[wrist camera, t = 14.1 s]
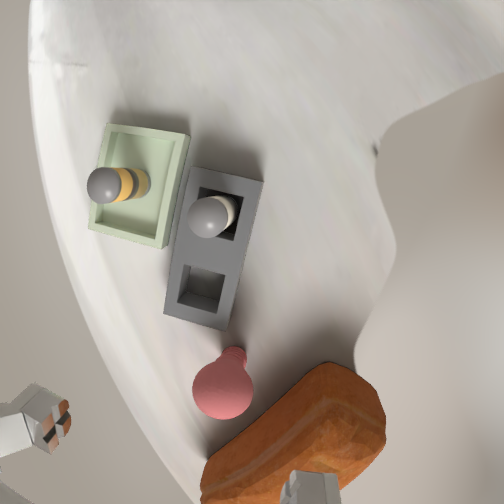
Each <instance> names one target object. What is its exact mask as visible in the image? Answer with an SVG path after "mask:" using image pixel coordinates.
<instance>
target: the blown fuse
mask: <svg viewBox="0 0 504 504" xmlns="http://www.w3.org/2000/svg"><path fill="white" fill-rule="evenodd" d="M150 188H151V178H150V176H149V174H148V173H147V172H146V171H145V170H143V169H135V168H113V167H100V168H97V169H95V170H94V171H93V172H92V173H91V174H90V176H89V178H88V182H87V191H88V194H89V196H90V198H91V199H92V200H93V201H94V202H95V203H97V204H107V203H113V202H120V201H126V200H131V199H137V198H142V197H144V196H145V195H147V193H148V192H149V190H150Z"/></svg>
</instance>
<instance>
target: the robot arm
mask: <svg viewBox="0 0 504 504" xmlns="http://www.w3.org/2000/svg"><path fill="white" fill-rule="evenodd" d="M68 408H69V404H68V401H67V400H65V399H63V398H61V397H60V396H58V395H56V394H54V393H52V392H51V391H49V390H48V389H46V388H44V387H42V386H41V385H39V384H37V383H32V384H30V385H29V386H28V387H27V388H26V389H25V390H24V391H23V392H22V393H21V394H19V395H18V396H17V397H16V398H15V399H14V400H13V401H12V402H11V403H10V404H9V403H7V402H5V403H0V457H3V456H6V455H8V454H11V453H14V452H17V451H19V450H22V449H25V448H27V447H30V446H32V445H35V446H37V447H38V448H40V449H42V450H44V451H45V452H47V453H49V454H51V453H52V452H53V451H54V450H55V448H56V447H57V446H58V445H59V439H58V438H61V437H64V436H65V435H66V434H67V433H68V431H69V428H70V426H71V416H70V414H69V413H68V411H67V409H68ZM1 472H2V469H1V467H0V473H1ZM0 504H34V503H32V502H31V501H29V500H28V499H26V498H25V497H23V496H22V495H20V494H19V493H17V492H15V490H13V489H11V488H10V487H9V486H7V485H6V484H5V483H3V482H2V481H1V480H0ZM280 504H341V498H340V491H339V484H338V478H337V475H336V474H334V473H321V472H312V471H301V470H293V471H292V472H291V474H290V480H289V481H286V482H285V484H284V485H283V488H282V491H281V494H280Z"/></svg>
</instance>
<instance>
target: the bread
mask: <svg viewBox="0 0 504 504" xmlns="http://www.w3.org/2000/svg"><path fill="white" fill-rule="evenodd" d="M385 428H386V415H385V413H384V410H383V408H382V405H381V402H380V400H379V397H378V394H377V391H376V390H375V389H374V388H373V387H372V386H371V384H369V383H368V382H367V381H365V380H364V379H363V378H362V377H360V376H359V375H358V374H356V373H355V372H353V371H351V370H350V369H348V368H346V367H343V366H340V365H337V364H334V363H331V362H328V363H324V364H321V365H318V366H317V367H315V368H314V369H313V370H311V371H310V372H308V373H307V374H306V375H305V376H304V377H303V378H302V379H301V380H300V381H299V382H298V383H297V384H296V385H295V386H294V387H292V388H291V389H290V390H289V391H288V392H287V393H286V394H285V395H284V396H283V397H282V398H281V399H280V400H278V401H277V402H276V403H275V404H274V405H273V406H272V407H271V408H269V409H268V410H267V411H266V412H265V413H264V414H263V415H262V416H260V417H259V418H258V419H257V420H256V421H255V422H253V423H252V424H251V425H250V426H249V427H248V428H246V429H245V430H244V431H243V432H241V433H240V434H239V435H238V436H236V437H235V438H234V439H233V440H231V441H230V442H229V443H227V444H226V445H225V446H224V447H222V448H221V449H220V450H219V451H217V452H216V453H215V454H213V455H212V456H211V457H210V458H209V460H208V461H207V463H206V465H205V467H204V471H203V475H202V478H201V483H200V490H201V492H202V495H201V498H200V501H201V504H280V494H281V491H282V488H283V485H284V484H285V482H286V481H289V480H290V474H291V472H292V471H293V470H301V471H312V472H321V473H334V474H336V475H337V478H338V484H339V490H341V489H342V488H344V487H345V486H346V485H348V484H349V483H350V482H351V481H352V480H354V479H355V478H356V477H357V476H358V475H359V474H361V473H362V472H363V471H364V470H365V469H366V468H367V467H368V466H369V465H370V464H371V463H372V462H373V460H374V459H375V458H376V457H377V456H378V455H379V453H380V452H381V451H382V450H383V448H384V446H385V444H386V435H385Z"/></svg>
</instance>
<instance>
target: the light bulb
mask: <svg viewBox="0 0 504 504" xmlns="http://www.w3.org/2000/svg"><path fill="white" fill-rule="evenodd" d="M246 363H247V356H246V353H245V352H244V351H243V350H242V349H241V348H239V347H235V346H231V347H228V348H226V349H225V350H224V351H223V352H222V354H221V356H220V357H219V358H217V359H216V361H215V362H212V363H210V364H208V365H206V366H205V367H203V368H202V369H201V370H200V371H199V372H198V374H197V375H196V377H195V379H194V382H193V386H192V392H193V398H194V401H195V403H196V405H197V406H198V407H199V409H200V410H201V411H202V412H203V413H205V414H206V415H208V416H210V417H212V418H215V419H231V418H234V417H237V416H239V415H240V414H242V413H243V412H244V411H245V410H246V409H247V408H248V407H249V405H250V403H251V401H252V398H253V384H252V381H251V378H250V377H249V375H248V374H247V372H246V371H245V366H246Z"/></svg>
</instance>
